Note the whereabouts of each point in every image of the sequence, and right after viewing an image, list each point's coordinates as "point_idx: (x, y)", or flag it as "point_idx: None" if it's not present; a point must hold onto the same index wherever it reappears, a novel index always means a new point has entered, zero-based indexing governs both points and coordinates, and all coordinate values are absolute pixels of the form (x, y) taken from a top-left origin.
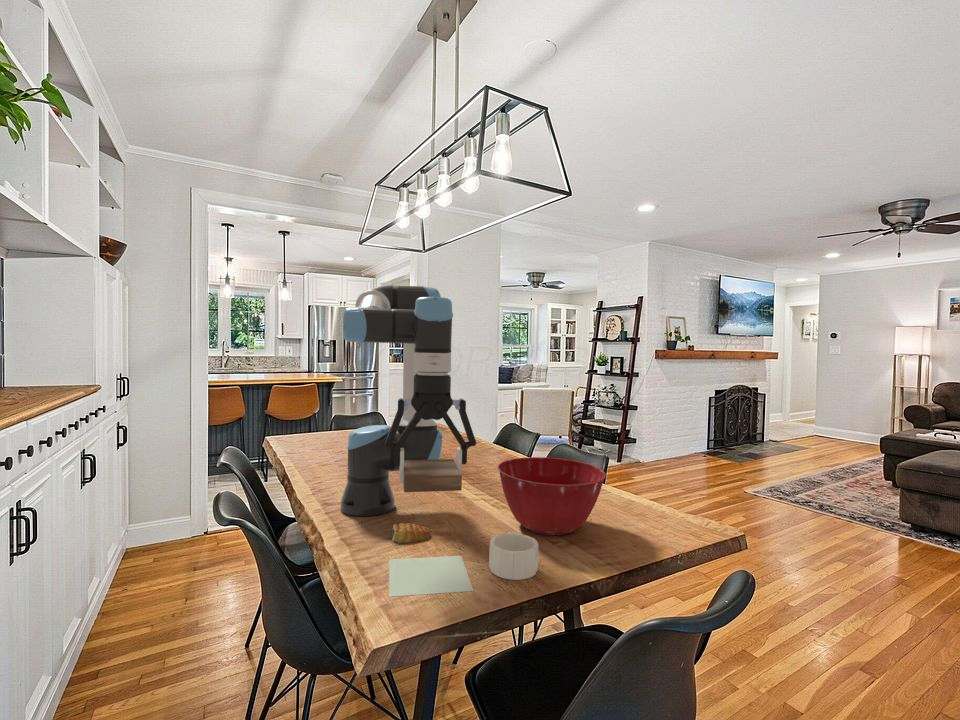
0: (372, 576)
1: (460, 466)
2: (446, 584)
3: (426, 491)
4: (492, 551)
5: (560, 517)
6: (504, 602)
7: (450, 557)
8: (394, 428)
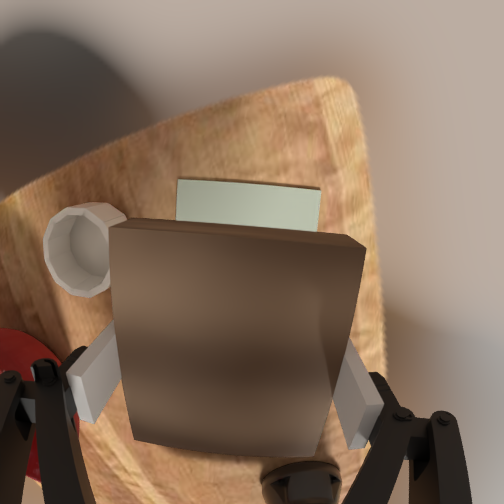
0: None
1: (103, 336)
2: (218, 209)
3: (264, 227)
4: None
5: (7, 331)
6: (139, 140)
7: None
8: (455, 483)
